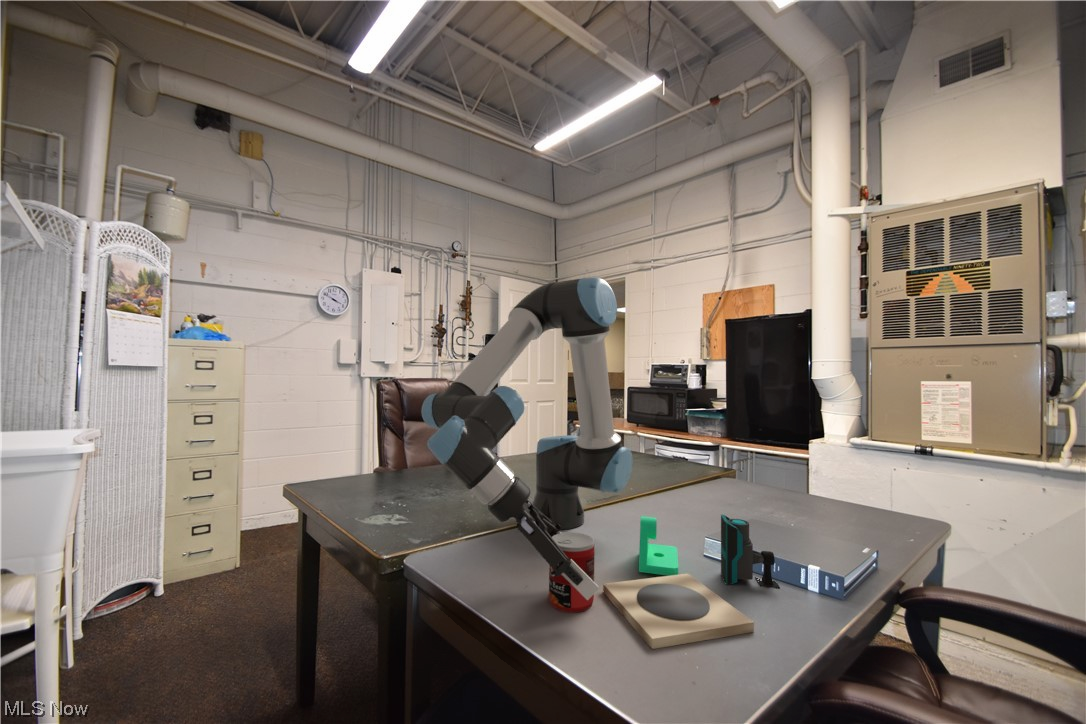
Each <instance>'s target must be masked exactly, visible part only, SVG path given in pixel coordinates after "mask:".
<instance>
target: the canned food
mask: <svg viewBox="0 0 1086 724" xmlns="http://www.w3.org/2000/svg"><path fill="white" fill-rule="evenodd" d="M552 538H553V540H554V541H555V542H556V543H557V545H558V546H559V547H560V548H561V550H562V551H563V552H564V553H565V555H566V556H567V557H568V558H569V559H572V560H573V561H574V562H575V563H576V564H577V565H578V566H579V567H580V568H581V569H582V570H583V571H584V572H585V573H586V574H587V575H588V576H589V577H590V578H591V579H592V580H593V581H594V582H595V556H596V555H595V550H596V549H595V539H594V538H593V537H592V536H590V535H588V534H586V533H585V534H584V533H580V532H561V533H560V534H556V535H554V536H552ZM561 562H562V561H561ZM561 562H560V563H561ZM560 563H559V564H560ZM559 564H558V565H559ZM548 571H549V572H548V599H549V602H550V604H551V606H552V607H553V608H555V609H556V610H558V611H561V612H566V613H580V612H584V611H586V610H589V609H590V607H592V605H593V603H594V600H595V599H594V598H595V593H594V594H593V595H592V596H591V598H590V599H589V600H587V599H586V598H585V597H584V596H583V595H582V594H581V593H580V592H579V591H578V590H577V589H576V588H575V587H574V586H573V585H572V584H571V583H570V582H569V581H568V580H567V579H566V578H565V577H564V576H563V575H562V574H561V575H560V576H558V577H556V576H555V575H554V573H555V571H554V570H553V569H552V567H551V566H550V565H549V564H548Z"/></svg>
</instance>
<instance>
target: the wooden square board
mask: <svg viewBox="0 0 1086 724" xmlns="http://www.w3.org/2000/svg"><path fill="white" fill-rule="evenodd" d="M603 591H604V592H603ZM602 592H603V593H604V595H605V594H606V595H607V596H608V597H609V598H608V597H607V596H606V595H605V596H606V597H607V598H608V599H609V601H610V602H611V601H612V602H613V603H614V604H613V603H612V602H611V603H612V604H613V605H614V607H616V608H618V609H617V610H618V611H619V612H620V614H622V615H624V616H623V617H624V618H625V619H626V621H628V622H629V624H630V625H631V626H632V628H633V629H634V630H635V631H636V632H637V633H638V634H639V635H640V637H641V638H642V639H643V640H644V641H645V643H646V644H647V645H648V646H649V647H650V648H651V649H652V650H654V649H659V648H661V649H662V648H666V647H673V646H679V645H683V644H691V643H696V642H701V641H706V640H707V641H708V640H713V639H714V640H715V639H718V638H719V639H720V638H725V637H730V636H737V635H742V634H743V635H744V634H748V633H755V622H754V621H753V620H752V619H750V618H749V617H747V616H746V615H745V614H743V613H742V612H741V611H739V610H738V609H737V608H735V607H734V606H733V605H731V604H730V603H729V602H727V601H726V600H725V599H724V598H722V597H720V596H719V595H718V594H716V593H715V592H714V591H712V590H711V589H709V588H708V587H707V586H705V585H704V584H703V583H701V582H700V581H699V580H697V579H696V578H694V577H693V576H692V575H690V574H689V573H681V574H679V573H678V575H671V576H669V575H663V576H656V577H649V578H640V579H639V578H638V579H631V580H624V581H615V582H607V583H603V585H602Z"/></svg>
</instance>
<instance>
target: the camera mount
mask: <svg viewBox="0 0 1086 724" xmlns="http://www.w3.org/2000/svg"><path fill="white" fill-rule="evenodd" d="M657 520H658V519H657V517H652V516H640V521H639V523H640V526H639V549H638V550H639V552H638V555H639V556H638V573H646V574H653V575H654V574H655V575H663V576H671V575H679V557H678V547H676V546H674V545H664V544H654V543H649V542H650V540H657V532H658V531H657V529H658V528H657V527H658V522H657Z"/></svg>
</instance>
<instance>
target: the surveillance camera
mask: <svg viewBox="0 0 1086 724" xmlns="http://www.w3.org/2000/svg"><path fill="white" fill-rule="evenodd" d="M756 564H757V565H758V564H762V565H763V574H762V577H761V578H762V581H760V579H759V580H756V579H758V578H756V577H757V576H755V577H754V575H753V573H754V570H753V569H754V566H753V565H756ZM774 565H775V554H774V552H772V551H770V550H769V551H768V550H762V551H760V552H759V551H756V550H754V547H753V543H752V540H751V538H750V522H749V521H747V520H744V519H742V518H741V519H739V518H729V517H728V516H727V515H725V514H720V575H721V574H722V575H721V578H722V577H723V578H722V579H724V580H723V583H724V582H725V583H726V584H725V583H724V584H725V585H732V584H737V583H738V580H744V581H745V580H746V581H747V580H748V581H751V580H753V579H754V578H756V579H755V580H756V582H757V581H759V582H757V584H758V583H759V584H758V585H760V586H759V587H761V586H767V587H766V588H771V587H776V588H775V589H781V586H780V585H779V583H778V582H777V581H776V582H777V583H776V582H775V581H772V579H773V577H772V566H774ZM753 577H754V578H753ZM777 587H778V588H777Z"/></svg>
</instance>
